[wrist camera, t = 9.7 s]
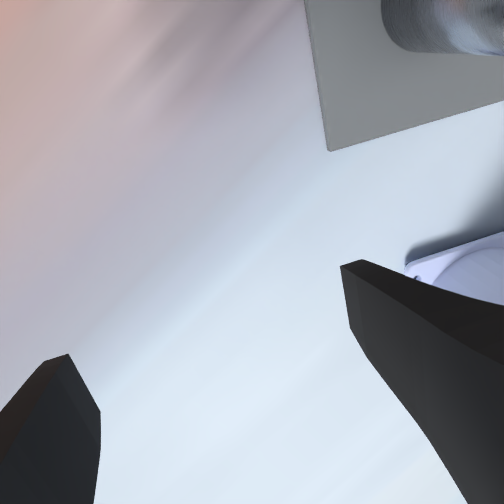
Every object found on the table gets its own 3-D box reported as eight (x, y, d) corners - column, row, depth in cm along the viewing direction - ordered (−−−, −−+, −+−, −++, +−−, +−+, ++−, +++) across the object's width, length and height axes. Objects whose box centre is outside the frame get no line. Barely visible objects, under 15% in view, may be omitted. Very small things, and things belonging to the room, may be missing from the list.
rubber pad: (521, 92, 21) (527, 93, 21) (327, 150, 20) (330, 151, 20) (533, -178, 17) (542, -183, 16) (285, -119, 16) (288, -123, 15)
